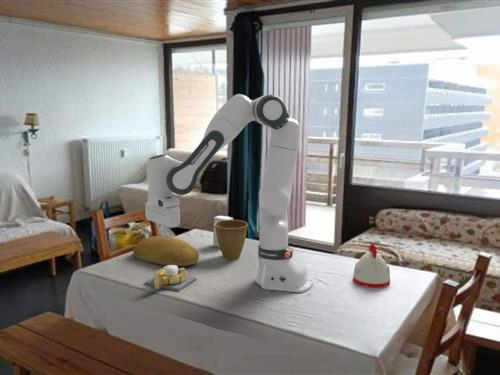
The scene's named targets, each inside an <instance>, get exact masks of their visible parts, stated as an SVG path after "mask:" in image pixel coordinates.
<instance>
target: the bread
mask: <svg viewBox="0 0 500 375" xmlns="http://www.w3.org/2000/svg"><path fill="white" fill-rule="evenodd" d="M132 252H133V256H134V257H135V258H137V259H138V260H141V261H144V262H148V263H152V264H157V265H162V266H168V265H176V266H178V267H187V266H191V265H194V264H196V263H197V262H198V260H199V259H200V258H199V256H200V255H199V252H198V250H197V249H196V248H195V246H193V245H192V244H190V243H188V242H186V241H185V240H182V239H179V238H176V237H171V236H168V235H165V236H163V235H153V236H149V237H145V238H143V239H142V240H140V241H139V242H138V243H136V244H135V245H134V247H133V249H132Z"/></svg>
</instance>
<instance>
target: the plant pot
mask: <svg viewBox="0 0 500 375" xmlns="http://www.w3.org/2000/svg"><path fill="white" fill-rule="evenodd" d="M215 229H216V235H217V239H218V243H219V246H220V247H219V250H220V252H221V255H222V257H223V259H225V260H230V261H232V260H233V261H235V260H238V259H239V258H240V257H241V254H242V252H243V248H244V245H245V242H246V238H247V237H246V236H247V232H248V223H247V222H246V221H243V220H240V219H233V220H223V221H219V222H217V223H215Z"/></svg>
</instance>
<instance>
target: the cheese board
mask: <svg viewBox="0 0 500 375" xmlns="http://www.w3.org/2000/svg"><path fill="white" fill-rule="evenodd" d="M186 276H187V271H186V268H185V267H180V268H179V267H178V275H176V273H173V274H171V276H170V277H169V276H166V273H165V269H163V268H160V269H158V270H156V271H155V272H154V273H153V277H154V283H155V286H154V289H155V290H160V289H162V288H161V287H163V286H164V285H165V284H167V285H168V284H170V285H171V284H176V283H180V282H182V281H184V280H185V279H186Z"/></svg>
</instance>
